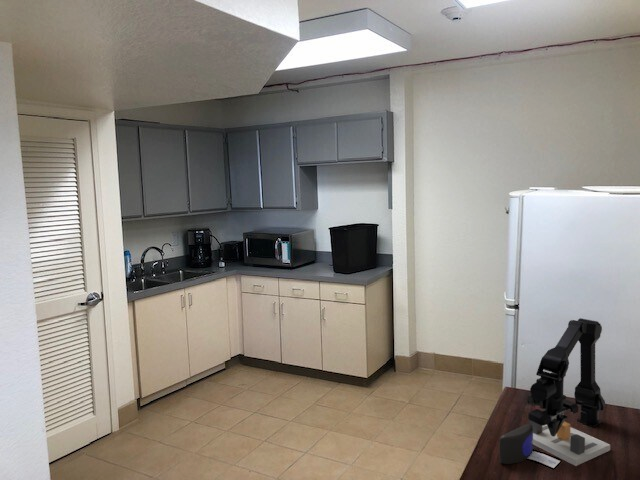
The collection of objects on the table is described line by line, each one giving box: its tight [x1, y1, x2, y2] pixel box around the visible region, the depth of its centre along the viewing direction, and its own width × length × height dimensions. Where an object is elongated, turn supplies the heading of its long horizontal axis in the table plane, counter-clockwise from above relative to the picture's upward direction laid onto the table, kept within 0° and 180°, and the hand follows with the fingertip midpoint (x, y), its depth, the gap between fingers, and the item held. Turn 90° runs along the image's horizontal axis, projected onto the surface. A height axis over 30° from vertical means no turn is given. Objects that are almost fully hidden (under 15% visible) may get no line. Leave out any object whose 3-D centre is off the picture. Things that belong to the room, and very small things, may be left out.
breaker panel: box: [529, 420, 611, 467], centre depth 179 cm, size 18×22×7 cm
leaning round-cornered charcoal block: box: [498, 423, 534, 465], centre depth 171 cm, size 16×5×9 cm, turn 124°
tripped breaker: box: [557, 420, 571, 440], centre depth 179 cm, size 3×3×5 cm
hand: (553, 435), depth 177 cm, fingers closed
